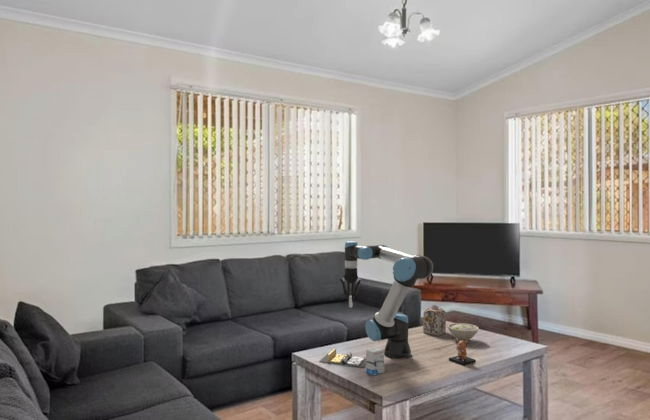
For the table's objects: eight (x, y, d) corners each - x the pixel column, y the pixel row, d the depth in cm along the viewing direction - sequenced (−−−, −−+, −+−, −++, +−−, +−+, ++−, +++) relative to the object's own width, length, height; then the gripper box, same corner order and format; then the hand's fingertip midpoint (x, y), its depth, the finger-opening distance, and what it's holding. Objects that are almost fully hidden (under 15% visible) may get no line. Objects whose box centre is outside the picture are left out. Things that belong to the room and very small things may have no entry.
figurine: (448, 360, 266) (449, 338, 266) (461, 357, 271) (461, 336, 271) (463, 365, 257) (463, 343, 257) (475, 362, 263) (476, 340, 263)
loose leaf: (351, 357, 268) (351, 350, 268) (345, 364, 256) (345, 356, 256) (334, 355, 271) (334, 348, 271) (327, 362, 260) (327, 354, 260)
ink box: (372, 375, 241) (372, 352, 241) (365, 373, 245) (365, 349, 245) (384, 372, 246) (384, 349, 246) (377, 369, 250) (377, 346, 250)
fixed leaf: (364, 358, 266) (364, 353, 266) (358, 366, 253) (358, 360, 253) (347, 356, 269) (347, 351, 269) (340, 364, 257) (340, 358, 257)
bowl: (442, 342, 301) (442, 326, 300) (452, 335, 317) (452, 319, 317) (474, 347, 290) (474, 330, 290) (482, 339, 307) (482, 324, 307)
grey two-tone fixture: (370, 359, 266) (370, 359, 266) (364, 367, 252) (364, 367, 252) (327, 354, 274) (327, 353, 274) (319, 362, 261) (319, 361, 261)
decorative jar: (429, 329, 330) (430, 303, 330) (446, 332, 324) (446, 305, 323) (422, 333, 321) (422, 306, 320) (439, 336, 314) (439, 308, 314)
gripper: (363, 267, 290) (362, 306, 290) (342, 266, 294) (341, 305, 294) (360, 268, 283) (360, 309, 283) (338, 267, 287) (338, 307, 287)
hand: (350, 306), depth 288 cm, fingers closed
